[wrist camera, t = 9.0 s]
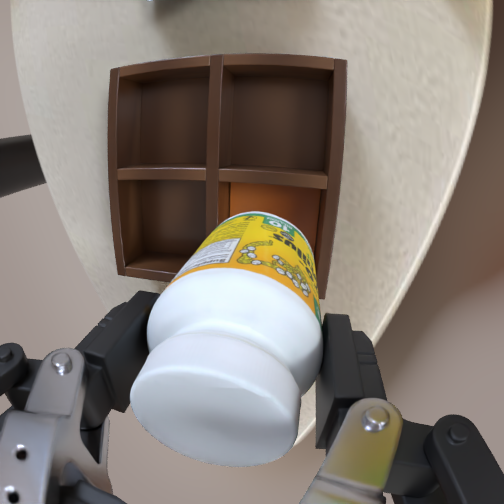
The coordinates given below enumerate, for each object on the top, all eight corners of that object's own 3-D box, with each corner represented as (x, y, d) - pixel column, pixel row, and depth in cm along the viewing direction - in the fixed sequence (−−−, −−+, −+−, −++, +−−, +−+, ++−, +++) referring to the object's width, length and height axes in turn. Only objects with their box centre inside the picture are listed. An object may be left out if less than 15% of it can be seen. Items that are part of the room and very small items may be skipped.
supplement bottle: (186, 238, 15) (64, 363, 6) (284, 189, 13) (256, 295, 4) (238, 323, 16) (186, 480, 7) (331, 287, 15) (355, 460, 6)
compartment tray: (142, 254, 26) (117, 275, 22) (139, 77, 20) (110, 68, 16) (320, 272, 24) (324, 299, 20) (338, 74, 18) (347, 59, 14)
